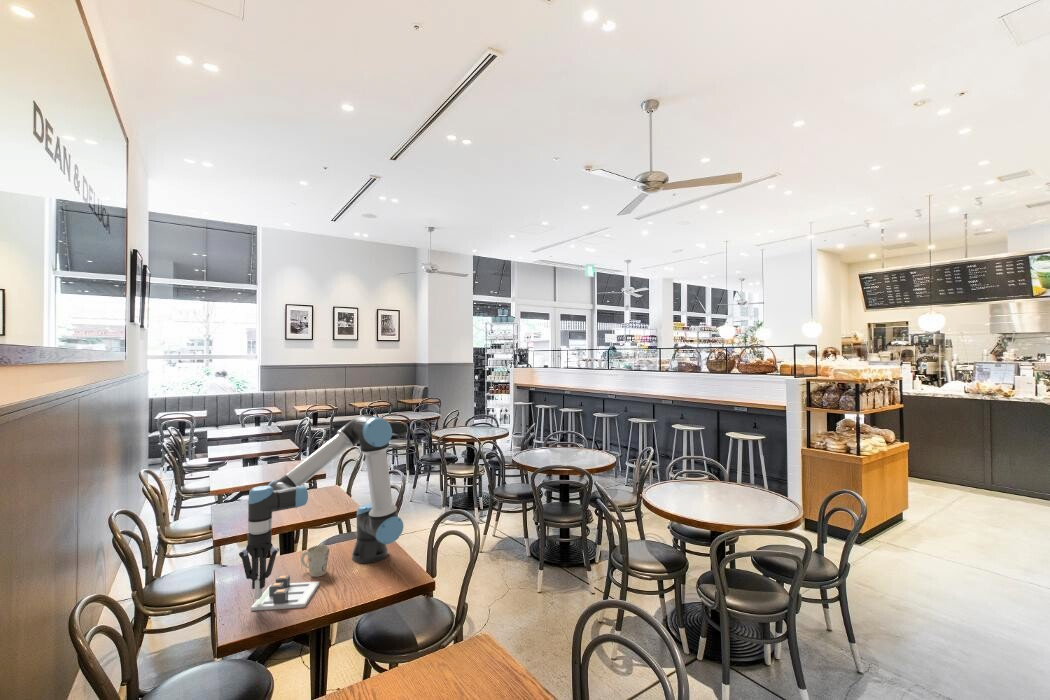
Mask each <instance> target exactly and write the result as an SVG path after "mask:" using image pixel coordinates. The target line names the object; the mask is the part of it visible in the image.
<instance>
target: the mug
mask: <svg viewBox="0 0 1050 700" xmlns="http://www.w3.org/2000/svg"><path fill="white" fill-rule="evenodd" d="M329 554H330V546H329V545H327V544H319V545H314V546H312V547H310V548H308V549H307V551H304V552H303V553H302V554H301V557H300V561H301V564H302V566H303V567H305V568H306V569H308V570H309V574H310V576H311V577H315V578H316V577H320V576H321V577H322V576H323V575H325V574H326V573H327V568H328V560H329ZM306 556H307V559H308V560H307V561H308V564H307V563H306V562H305V557H306Z"/></svg>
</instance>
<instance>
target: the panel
mask: <svg viewBox="0 0 1050 700" xmlns="http://www.w3.org/2000/svg"><path fill="white" fill-rule="evenodd" d="M319 586H320V581H308V582H305V581H304V582H291V575H278V576H277V577H276V579H275V582H273V583H271V584H269V586H268V587H267V588H266V589H265V590H264V592H262V596H261V597H260V599H256V600H255V602H254V603H253V604H252V605H251V606H250V611H251V612H252V611H267V610H280V609H282V610H284V609H297V608H305V607H307V604H308V603H309V601H310V600H311V598H312V597H313V595H314V593H315V592H316V591H317V589H318V588H319ZM278 589H288V600H287V601H286V602H285V603H275V604H273V594H274V592H275V591H276V590H278Z"/></svg>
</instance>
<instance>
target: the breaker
mask: <svg viewBox="0 0 1050 700" xmlns="http://www.w3.org/2000/svg"><path fill="white" fill-rule="evenodd" d="M287 600H288V589H278V590H276V591H275V592H274V594H273V604H275V603H285V602H286V601H287Z"/></svg>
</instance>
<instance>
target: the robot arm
mask: <svg viewBox="0 0 1050 700" xmlns="http://www.w3.org/2000/svg"><path fill="white" fill-rule="evenodd" d="M392 436H393V429H392V426H391V424H390V422H388V421H387V420H386V419H384V418H383V417H379V416H371V415H367V414H364V415H363V414H362V415H358V416H356V417H355V418H353V419H352V420H349V422H347V423H345V425H343V426H342V427H340V428H339V429H338V430H337V431H336V434H335V435H334V436H333V437H331V438H330V439H329V440H328V441H327V442H325V443H324V444H323V445H322V446H320V447H319V448H318V449H316V450H315V451H314V452H313V453H311V454H310V455H309V456H307V457H306V458H305V459H303V460H302V461H301V462H300V463H299V464H297V465H296V466H295V467H293V468H292V469H291V470H289V471H288V472H287V473H286V474H285V475H283V476H282V477H280V478H279V479H274V480H272V481H270V482H269V483H268V484H267V485H259V486H255V487H254V486H253V487H252V488H251V489H250V490H249V491H248V492H249V493H248V501H247V506H248V510H247V511H248V512H247V518H248V519H247V532H248V533H247V545H246V548H245V549H242V550H241V551H240V552H238V556H239V557H240V558H241V561H242V564H243V569H244V573H245V578H246V579H247V580H251V589H252V590H254V600H258V599H260V597H261V596H262V594H263V589H264V588H265V586H266V579H267V578H269V577H270V576H271V575H272V571H273V569H274V563H275V560H276V557H277V554H278V553H279V552H280V548H276V547H274V546H273V543H272V538H273V537H272V536H273V534H272V526H273V513H275V512H280V511H285V510H290V509H297V508H300V507H303V506H306V505H307V504H308V501H309V495H308V494H309V493H308V492H309V491H308V488H307V487H306V486H305V485H304V484H305V483H307V482H308V481H309V480H310V479H311V478H313V477H315V475H317V474H318V473H319V472H320V471H321V470H323V469H324V468H325V467H326V466H328V465H329V464H330V463H331V462H333V461H335V460H336V458H337V457H339V456H340V455H341V454H342V453H344V452H345V451H346V450H347V449H349V448H350V449H351V448H353V447H354V446H356V445H358V444H359V447H360V452H361V453H362V454H364V455H365V457H364V458H365V464H366V470H367V472H366V473H367V479H368V488H369V495H370V503H367V504H362V505H360V506H358V508H357V509H356V510H357V511H356V541H355V544H354V547H353V551H352V553H351V554H352V555H351V557H352V558H351V559H352V561H354V562H355V563H357V564H358V563H360V564H369V563H370V564H371V563H376V562H378V561H381V560H384V559H385V558H386V557H387V556H388V547H387V545H390V544H393V543H395V542H396V541H397V540H398V539H399V538H400V537H401V535H402V533H403V531H404V521H403V519H402V518H401V517H400V516H399V515H398V507H397V505H396V504H394V503H393V495H392V489H391V488H392V487H391V480H390V473H389V472H390V471H389V464H388V455H387V450H388V449H389V447H390V442H391V441H390V440H391V439H392ZM269 553H270V556H269V560H268V563H267V557H268V554H269ZM249 555H250V556H251V558H250V556H249Z"/></svg>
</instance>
